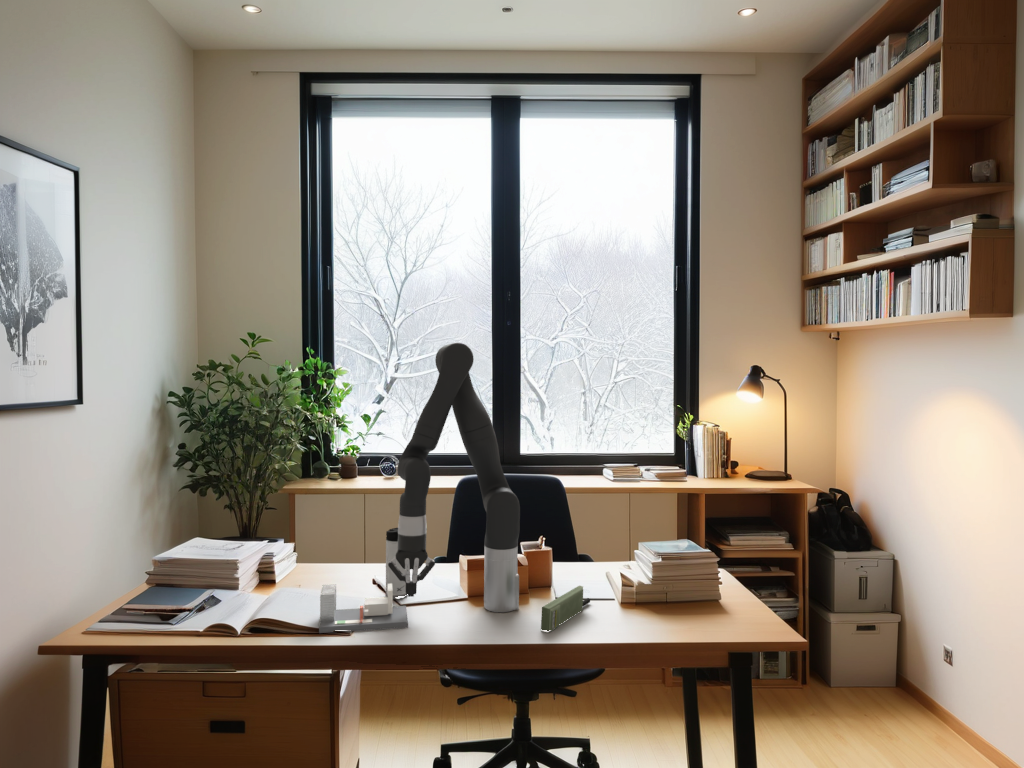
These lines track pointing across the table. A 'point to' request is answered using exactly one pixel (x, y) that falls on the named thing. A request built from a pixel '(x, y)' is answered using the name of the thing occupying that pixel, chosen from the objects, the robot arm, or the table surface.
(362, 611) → the drag pointer
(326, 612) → the grey block
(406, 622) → the gauge base
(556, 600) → the handheld radio
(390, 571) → the travel mug
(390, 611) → the white block
